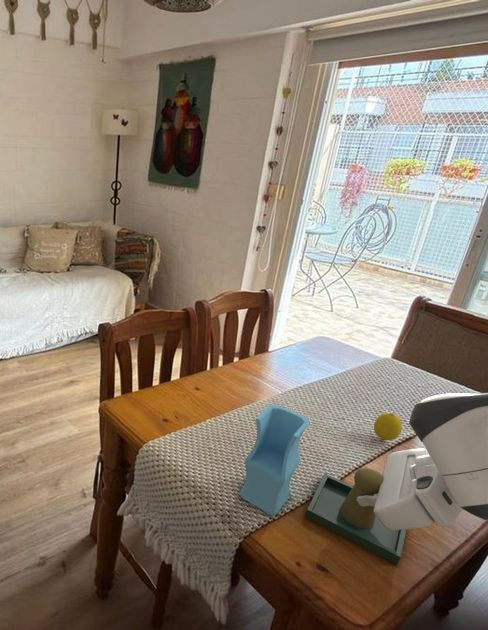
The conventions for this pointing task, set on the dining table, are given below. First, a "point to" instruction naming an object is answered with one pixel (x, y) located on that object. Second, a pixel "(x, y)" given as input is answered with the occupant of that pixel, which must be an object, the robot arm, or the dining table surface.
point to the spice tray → (328, 515)
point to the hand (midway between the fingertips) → (361, 492)
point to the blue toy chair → (273, 458)
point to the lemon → (388, 426)
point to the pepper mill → (350, 509)
